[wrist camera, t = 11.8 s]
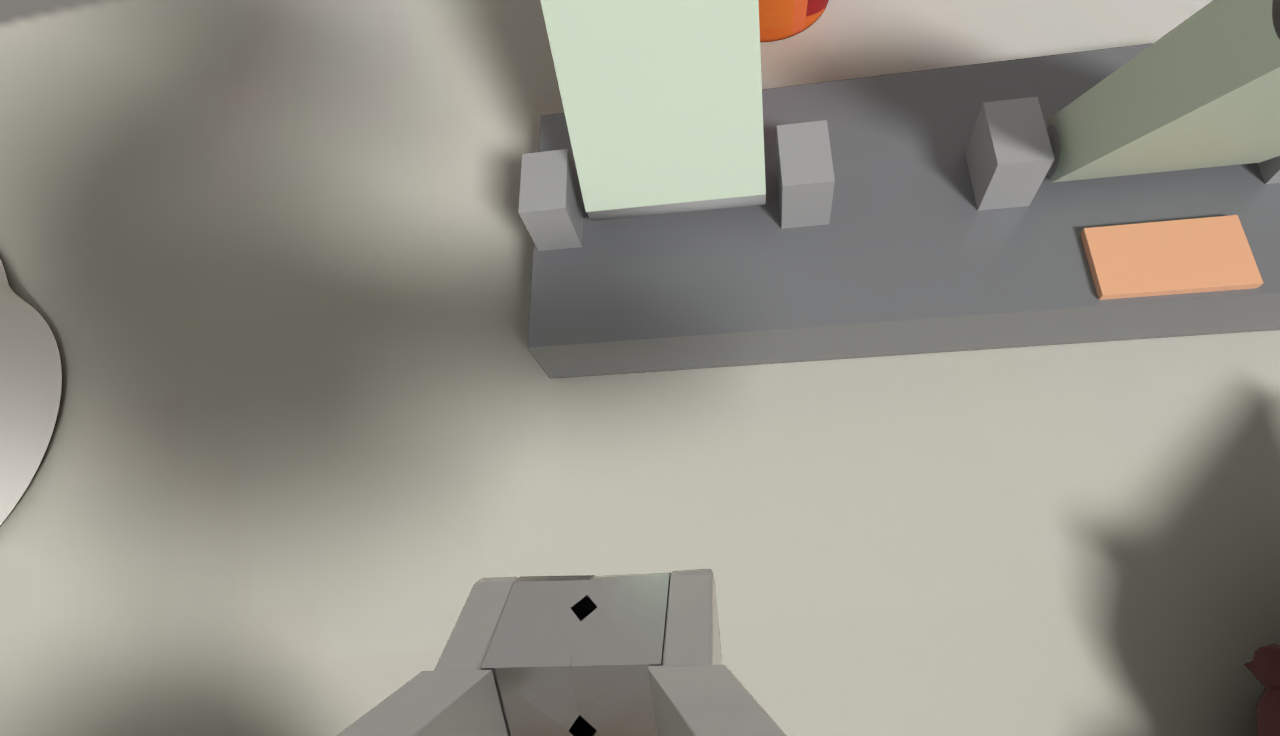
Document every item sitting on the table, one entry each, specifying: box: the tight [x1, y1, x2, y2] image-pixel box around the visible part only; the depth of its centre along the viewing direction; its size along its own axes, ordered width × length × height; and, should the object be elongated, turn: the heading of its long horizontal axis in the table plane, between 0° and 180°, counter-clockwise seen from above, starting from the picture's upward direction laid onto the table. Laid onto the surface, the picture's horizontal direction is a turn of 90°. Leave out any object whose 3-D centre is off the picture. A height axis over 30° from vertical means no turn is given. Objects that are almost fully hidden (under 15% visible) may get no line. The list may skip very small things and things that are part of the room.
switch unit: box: [518, 43, 1280, 378], centre depth 26 cm, size 26×10×5 cm, turn 90°
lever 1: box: [540, 0, 766, 221], centre depth 22 cm, size 6×2×13 cm, turn 90°
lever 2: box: [1046, 0, 1280, 182], centre depth 18 cm, size 6×2×13 cm, turn 90°
